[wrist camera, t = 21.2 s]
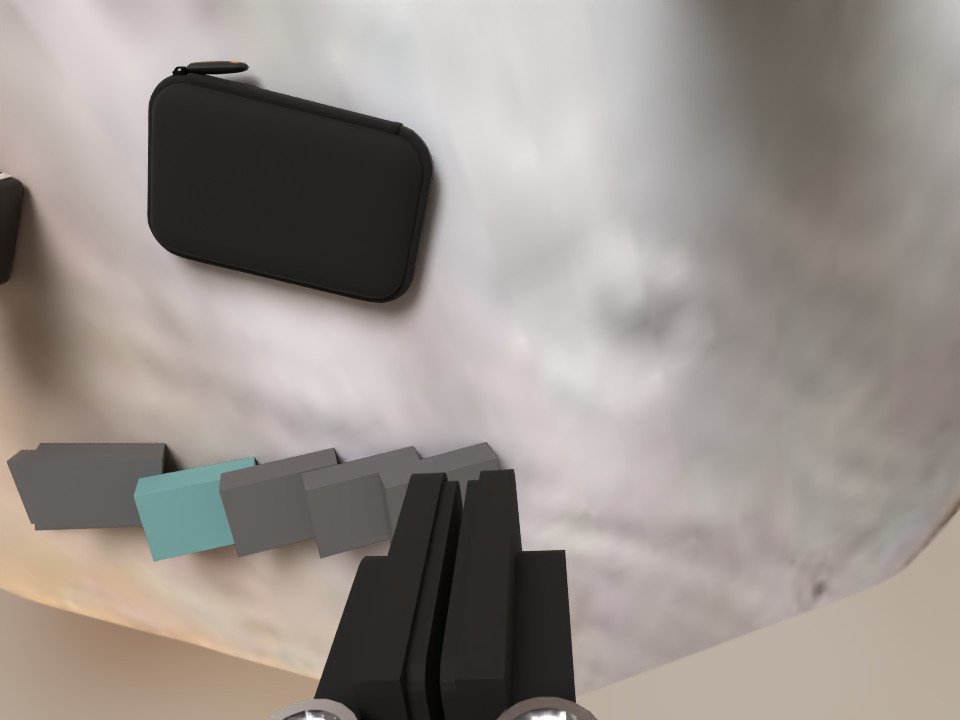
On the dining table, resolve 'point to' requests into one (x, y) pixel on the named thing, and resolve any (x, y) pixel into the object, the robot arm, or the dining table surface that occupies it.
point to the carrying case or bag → (284, 185)
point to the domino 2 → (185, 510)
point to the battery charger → (8, 221)
